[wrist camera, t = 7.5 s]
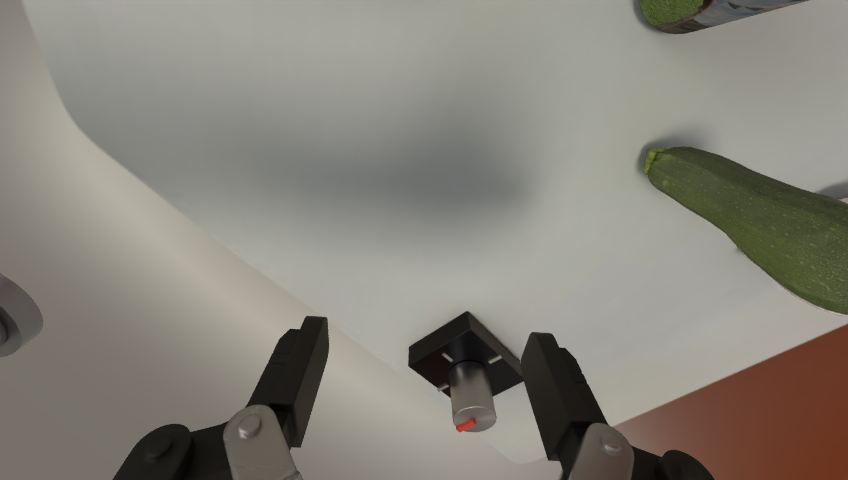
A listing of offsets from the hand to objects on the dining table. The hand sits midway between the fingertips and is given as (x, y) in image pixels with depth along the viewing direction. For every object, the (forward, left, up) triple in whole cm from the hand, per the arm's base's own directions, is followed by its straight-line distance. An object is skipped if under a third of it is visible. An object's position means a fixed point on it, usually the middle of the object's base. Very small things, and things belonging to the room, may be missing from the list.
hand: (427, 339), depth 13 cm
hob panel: (+6, -19, -16) cm, 26 cm away
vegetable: (+18, +3, -16) cm, 25 cm away
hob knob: (+6, -19, -14) cm, 24 cm away
